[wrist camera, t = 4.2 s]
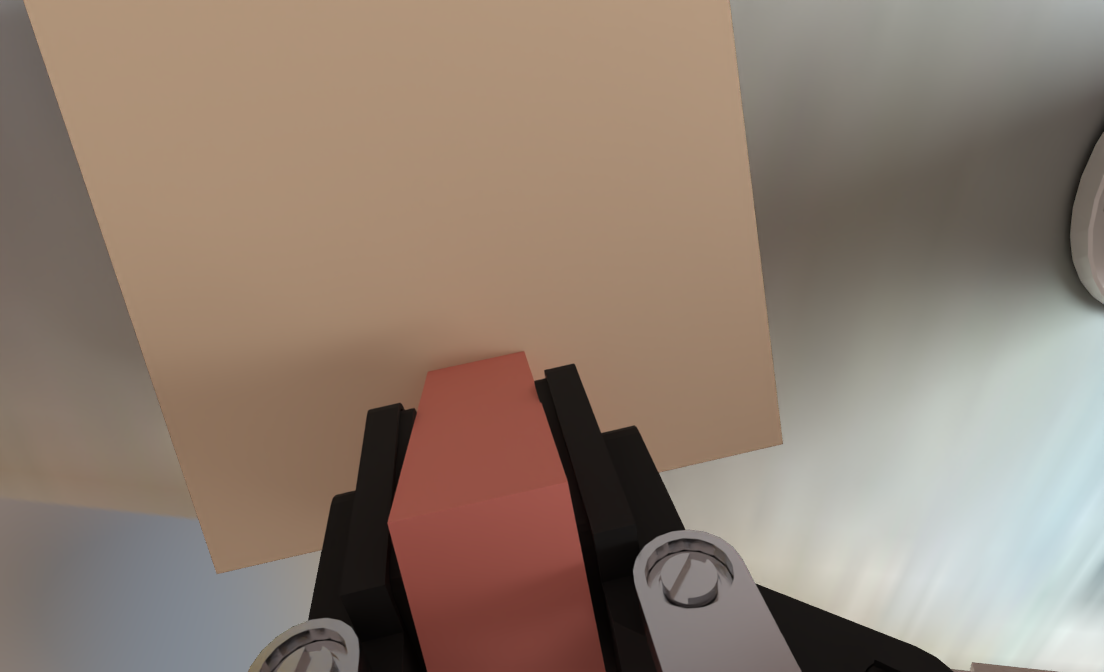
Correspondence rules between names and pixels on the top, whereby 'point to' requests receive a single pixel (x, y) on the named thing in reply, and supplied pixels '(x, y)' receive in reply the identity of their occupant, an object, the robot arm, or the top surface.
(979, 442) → the top surface
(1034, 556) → the top surface
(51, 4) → the taped cardboard box
